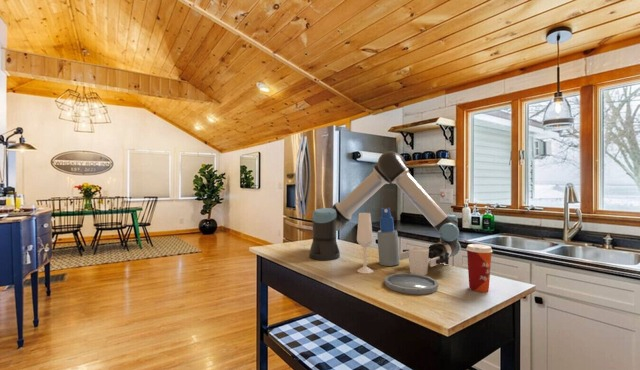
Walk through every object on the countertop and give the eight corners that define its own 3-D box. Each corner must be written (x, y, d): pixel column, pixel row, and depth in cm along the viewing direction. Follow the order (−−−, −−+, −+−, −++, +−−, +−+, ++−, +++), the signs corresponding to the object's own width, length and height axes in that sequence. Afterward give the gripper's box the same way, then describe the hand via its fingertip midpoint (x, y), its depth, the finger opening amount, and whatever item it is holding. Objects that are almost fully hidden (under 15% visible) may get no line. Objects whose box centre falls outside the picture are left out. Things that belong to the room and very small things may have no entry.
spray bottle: (399, 265, 138) (395, 208, 138) (378, 265, 140) (374, 209, 140) (399, 260, 146) (396, 206, 146) (379, 260, 148) (376, 207, 148)
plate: (377, 279, 120) (377, 275, 120) (419, 276, 124) (419, 271, 124) (400, 296, 102) (400, 291, 102) (448, 292, 107) (448, 286, 107)
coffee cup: (490, 295, 104) (490, 249, 104) (463, 290, 109) (463, 246, 109) (494, 288, 111) (494, 245, 110) (468, 283, 116) (469, 242, 115)
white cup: (430, 276, 124) (430, 251, 124) (409, 275, 126) (409, 250, 125) (427, 271, 132) (427, 247, 132) (407, 269, 133) (407, 246, 133)
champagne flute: (361, 267, 136) (361, 212, 136) (375, 270, 132) (375, 212, 132) (354, 271, 131) (353, 213, 130) (368, 274, 127) (368, 214, 126)
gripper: (467, 265, 132) (445, 276, 118) (413, 255, 150) (388, 263, 135) (468, 247, 132) (445, 255, 117) (413, 239, 150) (388, 245, 135)
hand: (414, 259), depth 126 cm, fingers open, 13 cm apart
